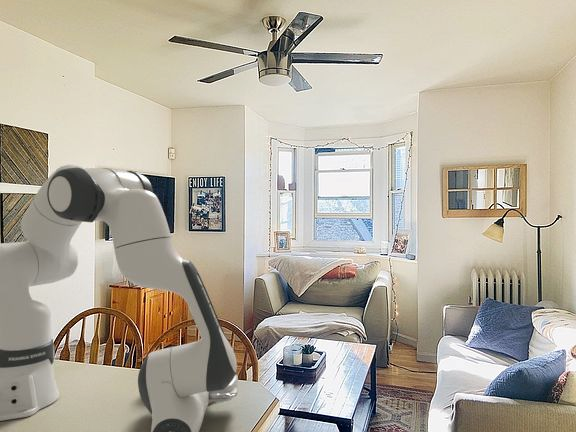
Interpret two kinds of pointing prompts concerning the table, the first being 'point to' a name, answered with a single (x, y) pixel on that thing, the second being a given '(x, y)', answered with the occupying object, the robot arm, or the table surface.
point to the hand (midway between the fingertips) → (198, 373)
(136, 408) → the table surface
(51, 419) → the table surface
